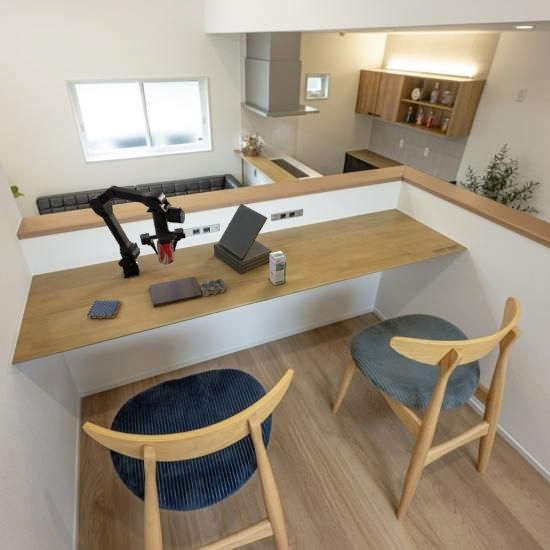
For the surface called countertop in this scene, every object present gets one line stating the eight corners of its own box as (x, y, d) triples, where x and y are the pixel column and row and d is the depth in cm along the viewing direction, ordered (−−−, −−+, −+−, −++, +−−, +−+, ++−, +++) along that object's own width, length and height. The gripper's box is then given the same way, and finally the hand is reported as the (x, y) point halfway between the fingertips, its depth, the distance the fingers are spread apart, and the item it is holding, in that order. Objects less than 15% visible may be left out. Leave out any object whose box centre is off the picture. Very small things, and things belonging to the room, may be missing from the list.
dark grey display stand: (214, 254, 188) (210, 210, 174) (244, 243, 199) (243, 200, 185) (240, 274, 174) (239, 227, 160) (271, 260, 185) (272, 215, 171)
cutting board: (154, 307, 152) (153, 304, 151) (150, 287, 163) (149, 284, 163) (201, 297, 158) (201, 294, 158) (194, 278, 170) (194, 276, 169)
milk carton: (274, 285, 167) (275, 258, 159) (268, 279, 172) (269, 252, 163) (285, 282, 169) (287, 256, 161) (279, 276, 174) (280, 249, 166)
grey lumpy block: (203, 297, 158) (202, 290, 156) (199, 287, 164) (198, 280, 162) (226, 292, 162) (226, 285, 160) (222, 283, 168) (222, 275, 165)
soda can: (170, 266, 163) (168, 243, 156) (155, 264, 164) (153, 240, 157) (176, 259, 169) (175, 236, 162) (162, 256, 169) (160, 233, 163)
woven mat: (114, 318, 145) (113, 314, 144) (87, 319, 144) (85, 315, 143) (121, 302, 154) (120, 298, 153) (95, 303, 153) (94, 299, 152)
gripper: (139, 233, 146) (146, 265, 154) (186, 226, 152) (190, 257, 161) (136, 221, 154) (143, 253, 163) (181, 215, 160) (185, 246, 169)
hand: (165, 252), depth 164 cm, fingers closed on soda can, 7 cm apart
